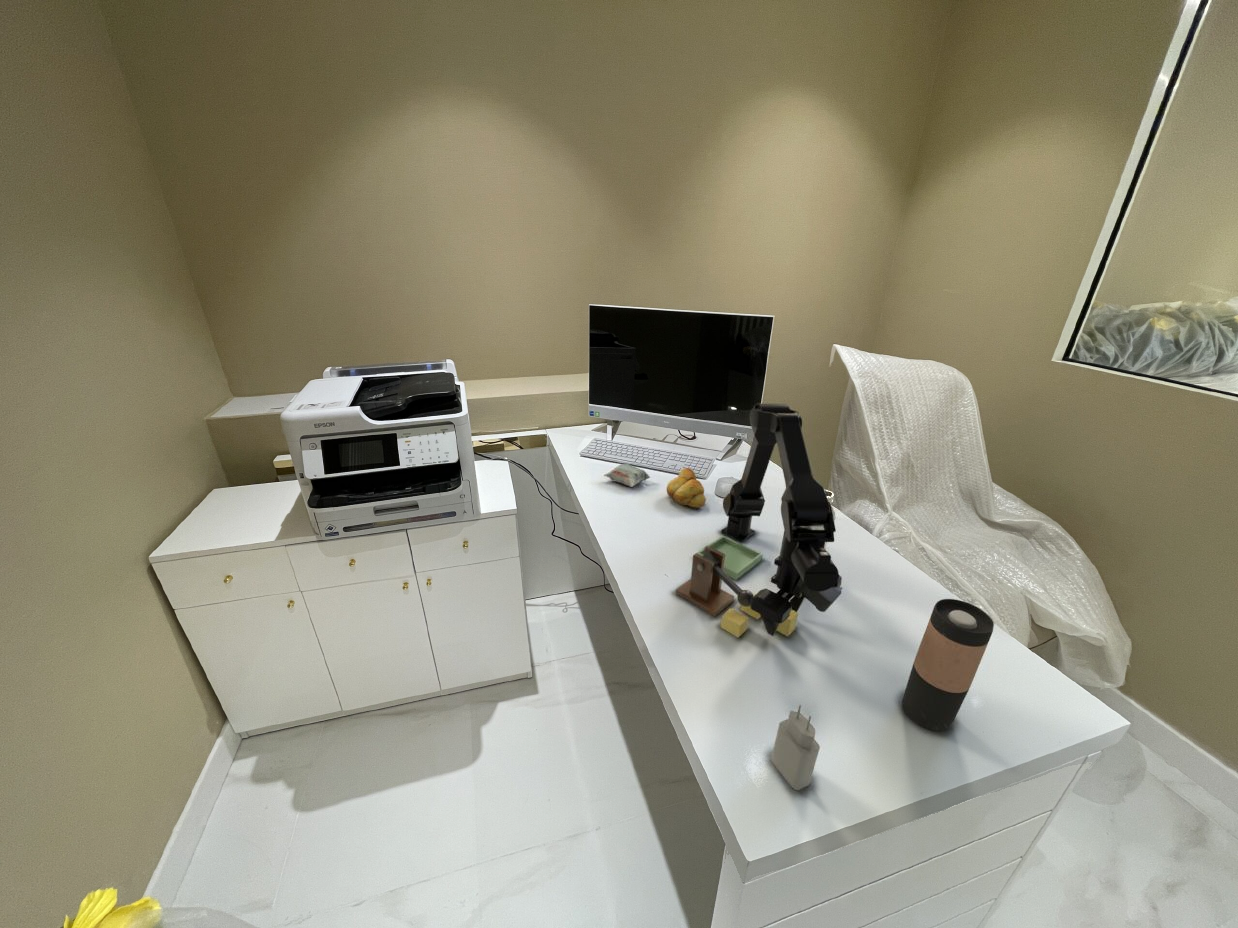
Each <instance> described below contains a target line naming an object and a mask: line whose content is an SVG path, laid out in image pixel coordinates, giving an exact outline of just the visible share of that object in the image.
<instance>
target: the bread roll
mask: <svg viewBox="0 0 1238 928" xmlns="http://www.w3.org/2000/svg"><path fill="white" fill-rule="evenodd" d="M666 493H667V496H669V498H671V499H673V500H674V501H675V502H676V503H678V504H679V505H683V506H688V507H690V508H702V507H703V506H705V504H706V502H707V498H706V496H705V488H704V486H703V484H702V482H701V481H700V480H698V479H697V475H696V473H695V471H694V470H693V469H691V468H689V467H688V468H687V467H686V468H683V469H682V470H680V472H679V474H678V475H677V477H674V478H673V479H671V480H670V481H669V482H668V483H667V485H666Z"/></svg>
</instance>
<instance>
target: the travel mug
mask: <svg viewBox="0 0 1238 928" xmlns="http://www.w3.org/2000/svg"><path fill="white" fill-rule="evenodd" d="M994 626H995V623H994V619H992V617H991V616H990V615H989V614H988V613H986V611H984V610H982V609H981V608H980V607H977V606H976V605H974V604H971V603H969V602H966V601H964V600H959V599H955V598H943V599H940V600H938V601H936V603H935V604H934V606H933V608H932V612H931V614H930V617H929V620H928V623H927V625H926V627H925V631H924V633H923V637H922V639H921V641H920V643H919V647H918V649H917V652H916V654H915V658H914V660H913V664H912V667H911V670H910V673H909V677H908V679H907V683H906V686H905V690H904V693H903V697H902V701H901V703H902V709H903V711H904V713H905V714H906V715H907V717H908V718H909V719H910V720H912V722H913V723H915V724H916V725H918V726H920V727H922V728H924V729H926V730H929V731H932V732H945V731H947V730H948V729H950V728H951V727H952V725H953V723H954V721H955V719H956V717H957V715H958V713H959V711H960V709H961V707H962V705H963V703H964V701H965V699H966V697H967V695H968V692H969V690H970V688H971V686H972V684H973V682H974V678H975V676H976V674H977V671H978V668H979V667H980V664H981V662H982V659H983V657H984V654H985V652H986V650H987V648H988V645H989V642H990V641H991V637H992V635H993V633H994Z"/></svg>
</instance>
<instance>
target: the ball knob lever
mask: <svg viewBox="0 0 1238 928" xmlns="http://www.w3.org/2000/svg"><path fill="white" fill-rule="evenodd" d="M703 557H705V558H707V559H709V560H711V561H712V562H714V567H713V572H714V573H715V574H716V575H717V576H718V577H719V578H720V579H721V580H722V583H724V584H725V585H727V587H729V589H731V590H732V592H733V593H735V595H737V596H736V597H737V602H738V604H739V605H740V606H741V605H742V606H744V607H748V606H750V604H751V598H752V597H753V596H754V595H753V594H754V593H753V592H752V591H750V590H748V589H742V588H741V586H739V585H738V584H737V583H736V582H735V581H734V579H733V578H731V577H729V576H727V575H726V574H725V573H724V572H723V571H722V570H721V569H720V568H719V567H718V566H717V563H718V562H719V561H718V560H717V559H716V558H715V557H714V556H713V555H712V554H711V553H710V552H708V553H706V554H705V555H703ZM752 593H753V594H752Z"/></svg>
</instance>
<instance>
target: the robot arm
mask: <svg viewBox="0 0 1238 928" xmlns="http://www.w3.org/2000/svg"><path fill="white" fill-rule="evenodd" d="M799 413H800V411H798V410H795V409H792V408H791V407H790V405H788V404H787V403H765V402H764V403H762V402H761V403H760V402H759V403H756V404H754V406H753V408H751V410H750V413H749V423H750V427H751V429H752V434H753V437H752V442H751V444H750V448H749V452H748V455H747V458H746V462H745V465H744V467H743V468H744V469H743V472H742V475H741V478H740V479H739V480H738V481H736V482H735V483H733V484H732V486H731V487H730V491H729V493H727V494H726V495H725V497H723V499H722V509H723V510H724V514H725V515H726V517H728V518H727V523H726V524H727V525H726V527H724V528H722V529H721V531H720V532H721V533H722V534H724V535H726V536H728V537H730V538H733V539H735V540H736V541H739V542H741V543H743V542H745V541H746V540H748V539H749V538H750V537H752V536H753V535H755V534H756V530H754V529H752V528H751V526H752V521H753V517H761V515H762V512H763V509H764V506H765V503H766V499H765V497H764V493H763V490H762V484H763V482H764V479H765V476H766V472H767V470H768V467H769V464H770V460H771V457H772V455H773V451H774V449H775V446H776V445H777V449H778V454H779V458H780V463H781V468H782V474H783V478H784V484H785V489H784V491H783V493H782V496H781V499H780V500H781V504H780V515H781V519H782V525H783V535H782V539H781V540H782V541H781V545H780V552H779V555H778V556H777V557H775V559H774V561H773V564H774V565H775V566H777V568H776V573H775V574H774V575H772V576H771V578H770V583H772V584H773V585H775V586H776V588H777V589H779V590H778V591H777V592H774V591H773V590H770V589H769V588H767V587H766V588H765V587H764V588H762V589H760V590H759V591H757V593H755V596H753V597H752V598H751V604H750V607H751V609H752V610H754V611H756V612H757V613H759V614H760V615H761V617H760V618H761V620H762V622H763V625H764V627H765V630H766V632H767V634H768V635H770V636H771V637H774V636H775V635H776V633H777V628H778V625H779V623H782V622H784V621H785V620H786V619H787V618H788V617H789V616H790V615H789V614H790V612H791V609H792V610H794V611H795V612H797V613H798V612H799V609H800V608H801V606H802V604H803V602H804V601H805V599H806V600H807V601H808V602H809V603H811V605H813V606H814V607H815V609H816V610H818V611H819V612H821V613H825V612H826V611H827V610H828V609H829V608H830V607H831V606H832V605H833V604H834V602H835V601H836V600H837V599H838V598H839V597H840V596H841V595H842V593H843V592H842V590H843V587H842V580H843V579H842V578H843V576H842V575H840V574H839V573H840V572H839V569H838V568H837V566H836V564H835V563H834V562H833V560H832V556H831V554H830V553H829V552H828V551H827V549H826V550H825V548H824V545H825V542H827V543H835V532H837V530H836V529H837V528H836V525H835V521H834V518H833V513H832V508H831V506H832V504H830V502H829V501H828V499H827V496H826V493H825V490H826V489H825V488H824V486H823V485H822V484H821V483H819V482H818V481H817V480H816V479H815V478H814V475H813V471H812V467H811V462H810V459H809V455H808V451H807V448H806V443H805V439H804V435H803V430H802V428H803V418H802V415H800V414H799ZM810 526H823V527H824V530H813V529H812V528H811V527H810Z"/></svg>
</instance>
